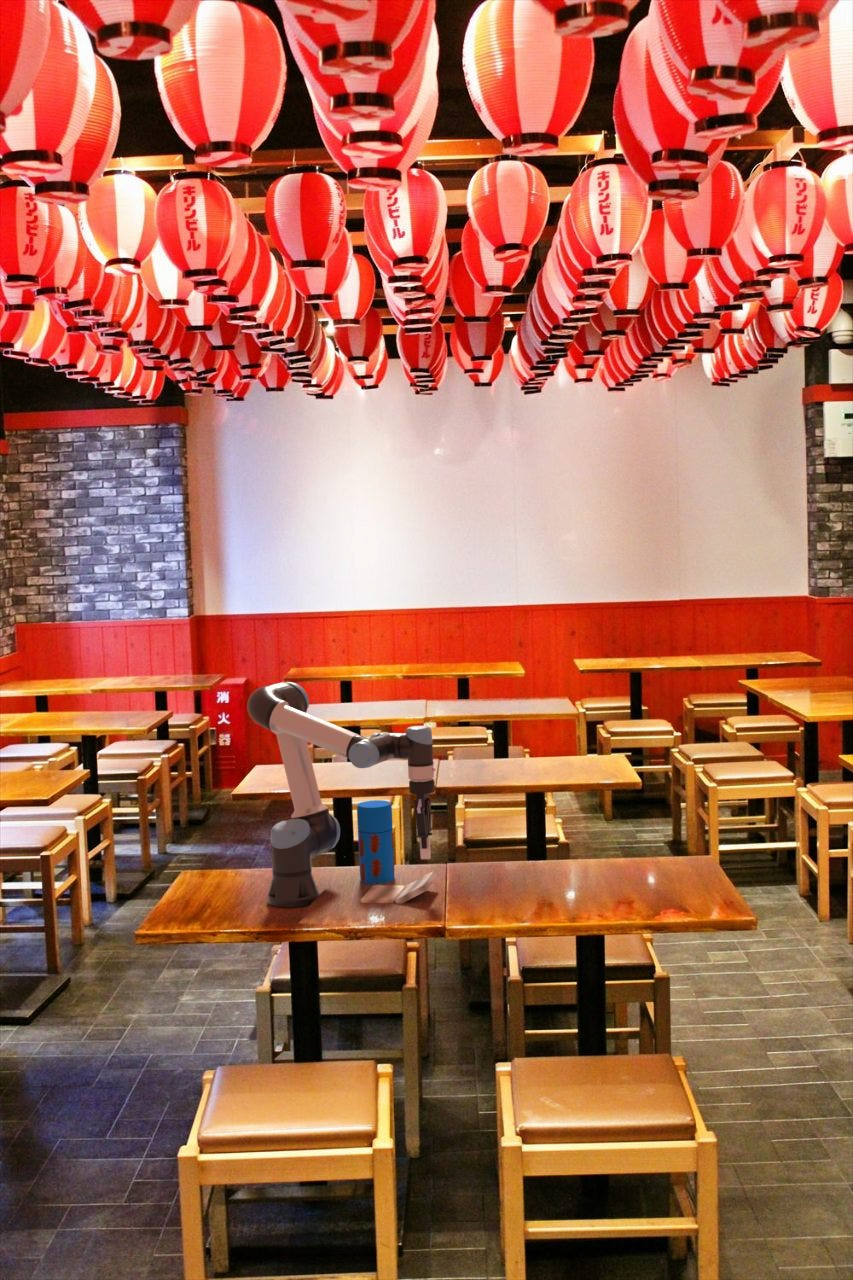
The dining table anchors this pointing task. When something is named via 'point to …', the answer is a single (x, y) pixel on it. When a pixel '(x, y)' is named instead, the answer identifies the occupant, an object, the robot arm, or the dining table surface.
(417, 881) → the plank
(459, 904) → the dining table surface
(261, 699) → the robot arm
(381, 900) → the floor board
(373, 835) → the thermos
